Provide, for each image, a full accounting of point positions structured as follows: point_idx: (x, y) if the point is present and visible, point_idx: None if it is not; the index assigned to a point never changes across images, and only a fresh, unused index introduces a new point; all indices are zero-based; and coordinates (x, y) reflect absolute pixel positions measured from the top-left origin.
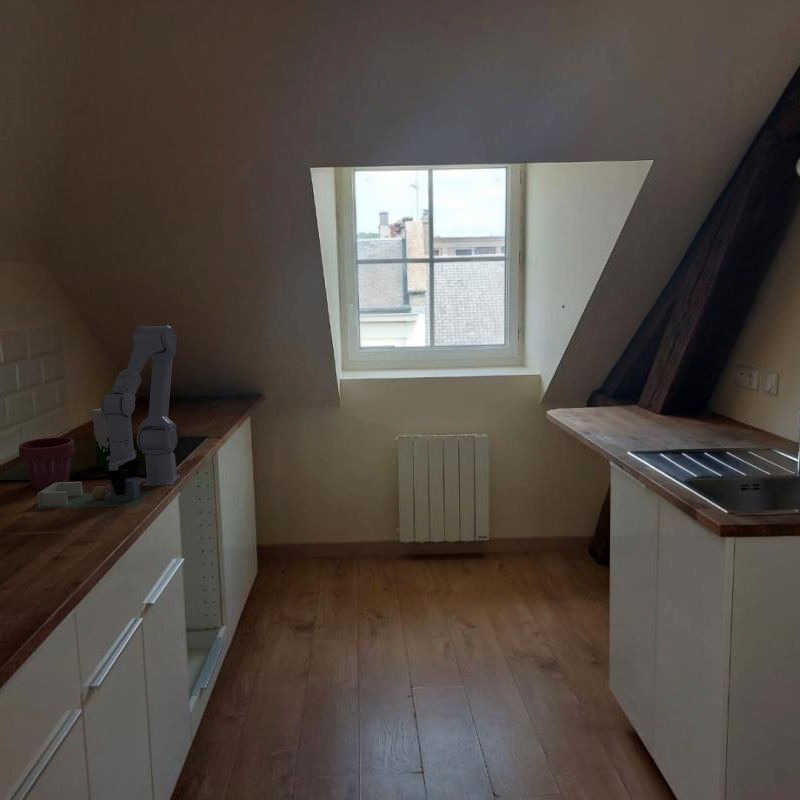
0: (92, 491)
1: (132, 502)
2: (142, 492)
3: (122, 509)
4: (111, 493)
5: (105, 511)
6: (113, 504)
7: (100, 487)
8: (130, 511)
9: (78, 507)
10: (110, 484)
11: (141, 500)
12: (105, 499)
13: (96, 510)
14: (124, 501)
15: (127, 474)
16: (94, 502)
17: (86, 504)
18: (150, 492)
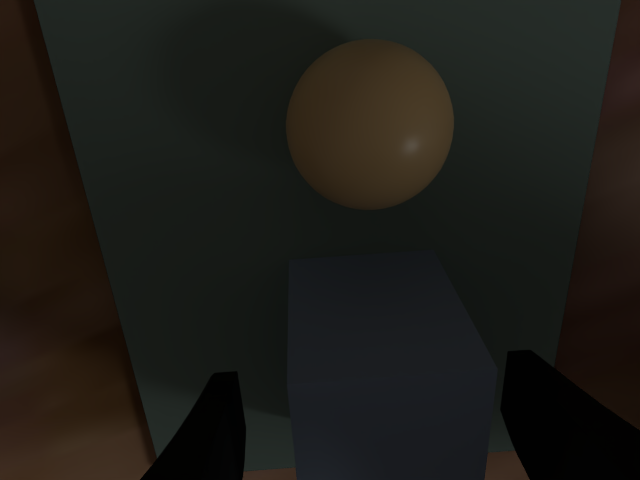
0: (318, 73)
1: None
2: None
3: (101, 403)
4: (289, 299)
5: (27, 308)
6: (178, 317)
7: (354, 183)
8: (64, 466)
9: (36, 8)
10: (288, 363)
11: (293, 461)
12: None
13: (38, 221)
14: (269, 364)
15: (579, 471)
16: (233, 111)
17: (157, 51)
18: (506, 445)
